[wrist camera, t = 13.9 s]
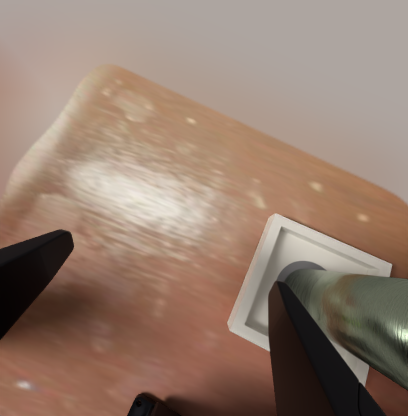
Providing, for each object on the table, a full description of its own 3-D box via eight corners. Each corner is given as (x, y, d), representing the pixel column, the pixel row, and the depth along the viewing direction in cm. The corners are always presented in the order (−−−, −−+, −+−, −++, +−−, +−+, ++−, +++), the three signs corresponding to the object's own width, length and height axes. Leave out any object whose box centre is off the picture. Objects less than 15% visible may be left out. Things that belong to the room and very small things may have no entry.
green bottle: (299, 332, 19) (619, 581, 4) (272, 281, 20) (456, 345, 5) (342, 307, 19) (759, 457, 5) (314, 260, 20) (584, 265, 6)
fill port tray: (343, 383, 19) (361, 399, 16) (227, 323, 20) (229, 330, 18) (373, 263, 21) (392, 264, 19) (268, 217, 23) (275, 213, 20)
